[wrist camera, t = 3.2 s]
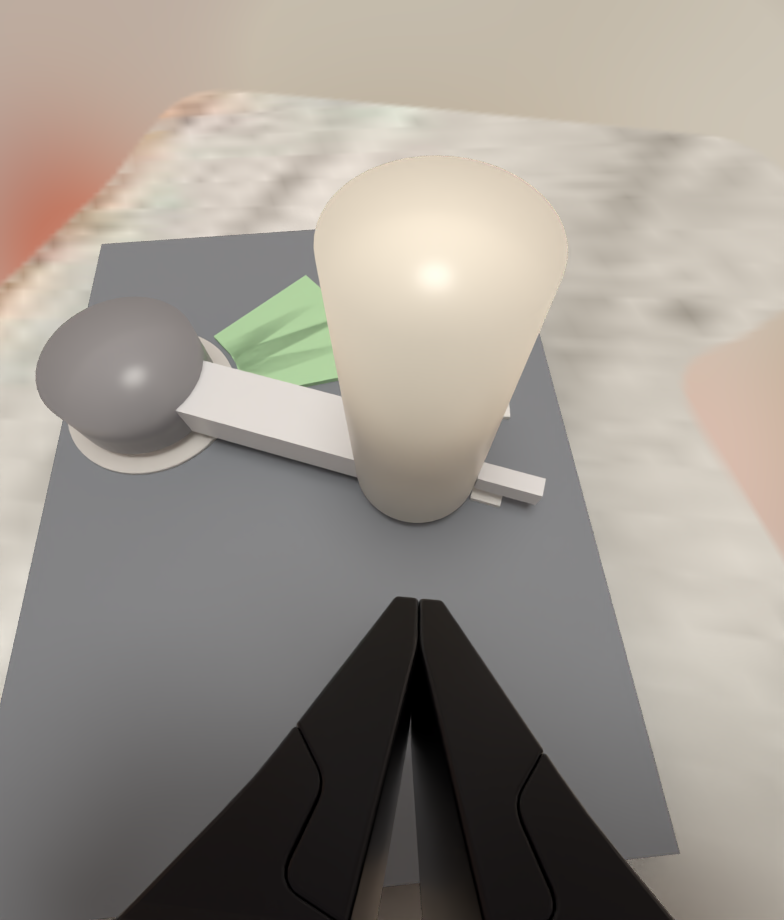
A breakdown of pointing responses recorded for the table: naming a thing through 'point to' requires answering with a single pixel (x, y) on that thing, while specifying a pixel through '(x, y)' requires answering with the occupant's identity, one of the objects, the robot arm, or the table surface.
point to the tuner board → (277, 607)
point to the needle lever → (353, 344)
